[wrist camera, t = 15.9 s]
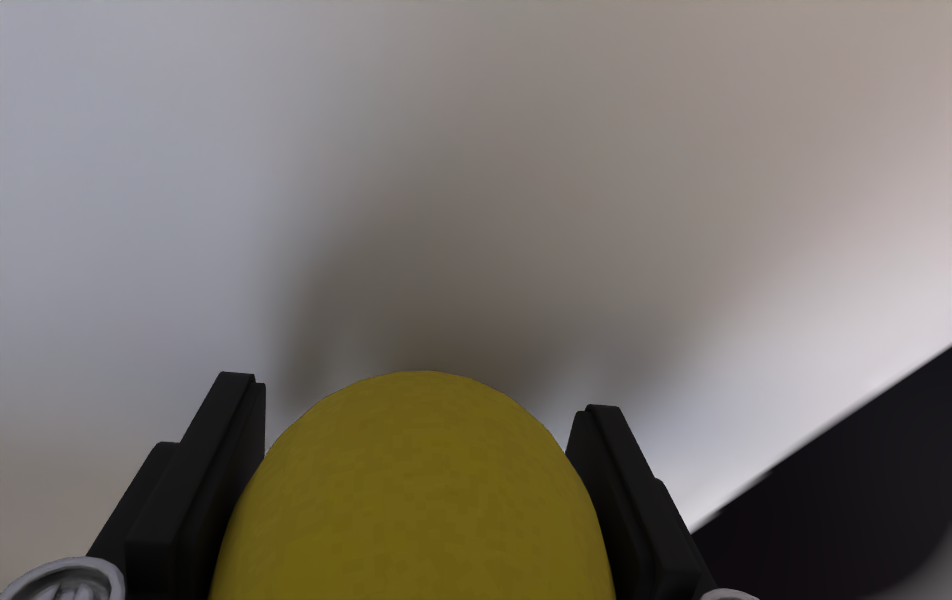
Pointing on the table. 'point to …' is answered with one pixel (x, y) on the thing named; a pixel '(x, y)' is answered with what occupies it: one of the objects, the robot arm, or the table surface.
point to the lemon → (414, 503)
